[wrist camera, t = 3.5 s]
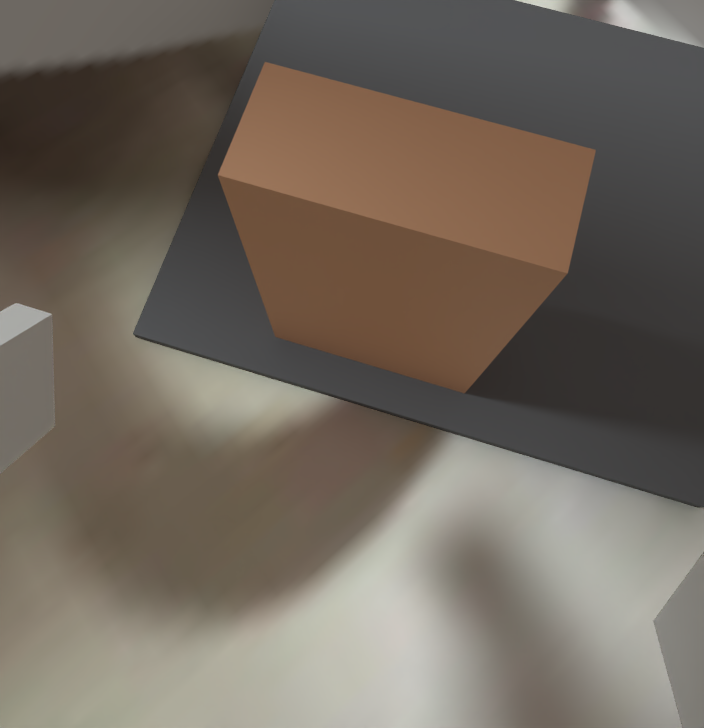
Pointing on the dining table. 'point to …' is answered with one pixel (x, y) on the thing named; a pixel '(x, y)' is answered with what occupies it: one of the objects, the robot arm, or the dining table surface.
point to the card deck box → (398, 223)
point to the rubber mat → (589, 257)
